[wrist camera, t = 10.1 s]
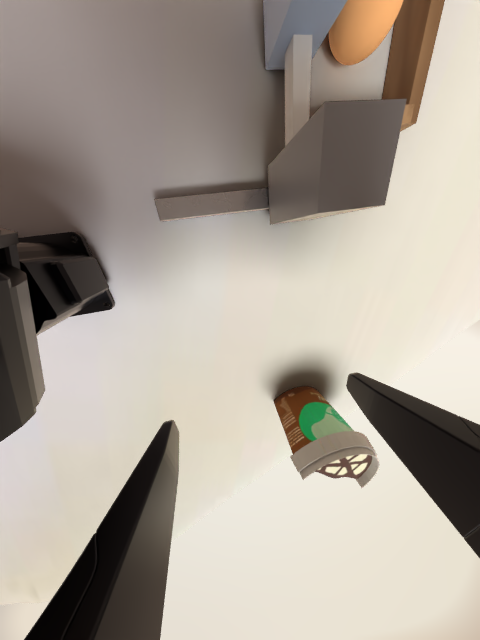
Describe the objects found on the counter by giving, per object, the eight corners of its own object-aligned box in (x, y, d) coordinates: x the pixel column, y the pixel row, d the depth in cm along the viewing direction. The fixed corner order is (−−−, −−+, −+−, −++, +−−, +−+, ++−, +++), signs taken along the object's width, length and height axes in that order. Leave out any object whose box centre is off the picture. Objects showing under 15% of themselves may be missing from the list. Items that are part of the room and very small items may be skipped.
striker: (266, 225, 16) (317, 213, 9) (255, -5, 11) (364, -510, 3) (306, 220, 17) (384, 204, 9) (315, -3, 11) (517, -437, 4)
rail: (162, 221, 15) (160, 220, 14) (157, 201, 14) (154, 199, 13) (324, 202, 17) (331, 200, 16) (325, 184, 16) (333, 181, 15)
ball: (410, 7, 9) (389, 63, 12) (439, -154, 7) (406, -39, 10) (324, 51, 11) (326, 90, 14) (332, -70, 9) (331, 6, 12)
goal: (307, 145, 14) (326, 128, 12) (317, -119, 10) (351, -226, 7) (385, 139, 15) (416, 122, 13) (429, -103, 11) (490, -194, 8)
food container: (341, 393, 30) (402, 459, 21) (317, 417, 31) (364, 488, 22) (291, 369, 25) (342, 441, 16) (266, 398, 26) (299, 479, 17)
